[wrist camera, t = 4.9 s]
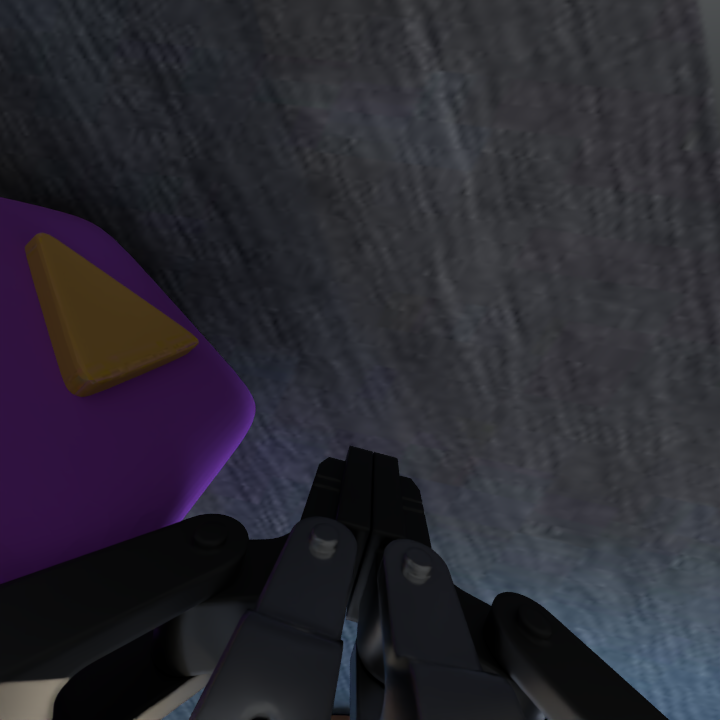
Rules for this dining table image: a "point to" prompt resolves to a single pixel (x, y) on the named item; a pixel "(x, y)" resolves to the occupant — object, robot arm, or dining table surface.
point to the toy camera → (99, 395)
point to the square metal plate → (340, 717)
